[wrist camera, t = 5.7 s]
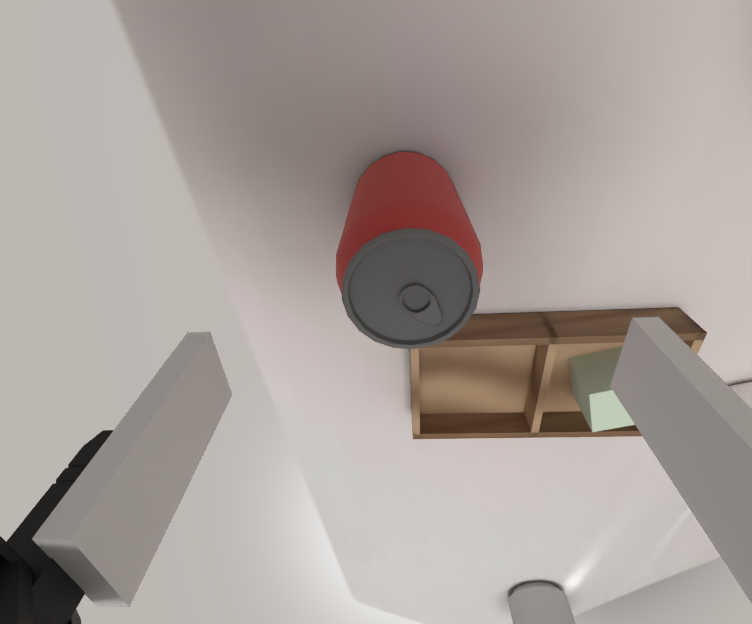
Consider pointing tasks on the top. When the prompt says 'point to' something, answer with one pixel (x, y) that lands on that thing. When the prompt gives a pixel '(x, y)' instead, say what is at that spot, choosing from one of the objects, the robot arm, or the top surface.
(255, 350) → the top surface
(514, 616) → the can
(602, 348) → the tray
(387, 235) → the beer can
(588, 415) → the sage block
